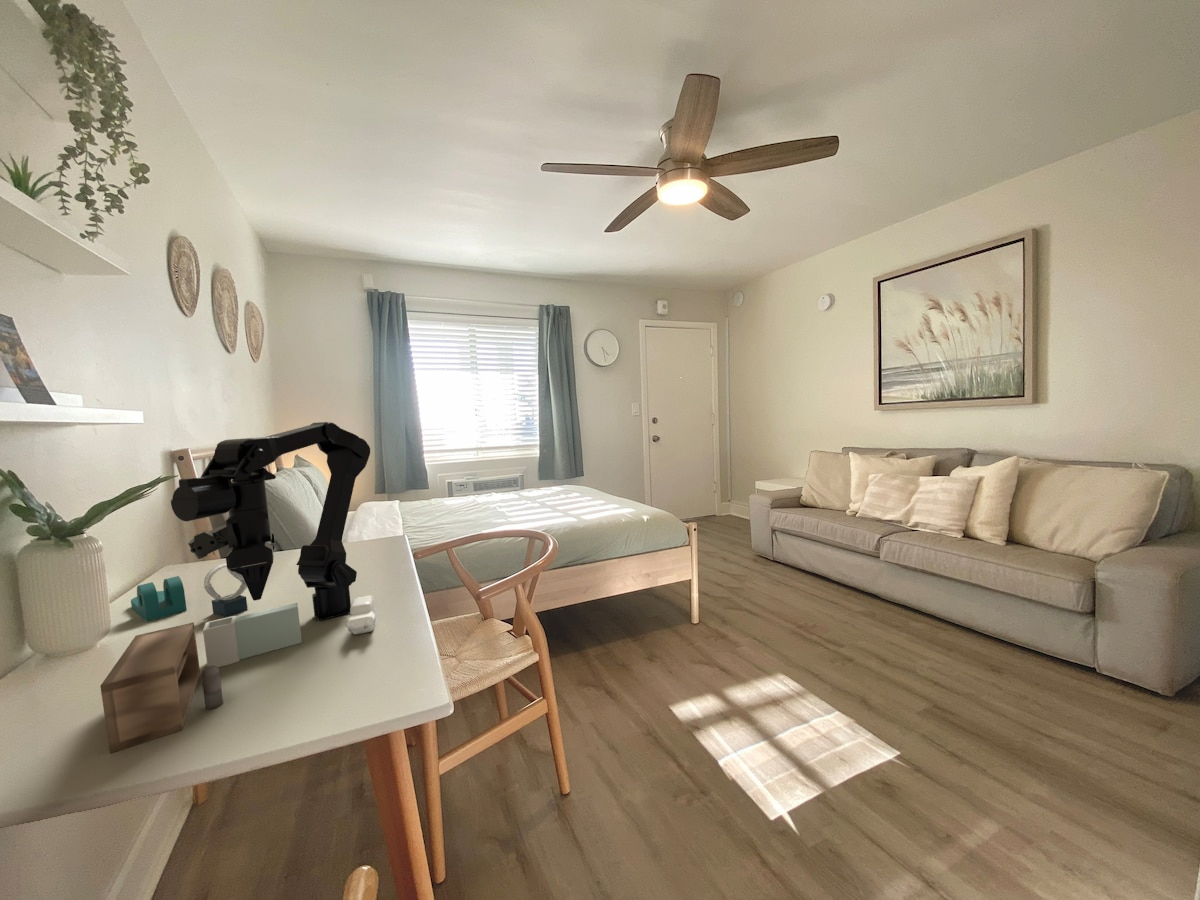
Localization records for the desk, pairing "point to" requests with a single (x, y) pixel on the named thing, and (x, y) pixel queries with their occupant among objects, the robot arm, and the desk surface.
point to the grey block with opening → (251, 634)
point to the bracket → (159, 600)
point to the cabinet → (155, 687)
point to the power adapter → (361, 615)
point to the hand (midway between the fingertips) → (258, 592)
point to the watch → (227, 603)
